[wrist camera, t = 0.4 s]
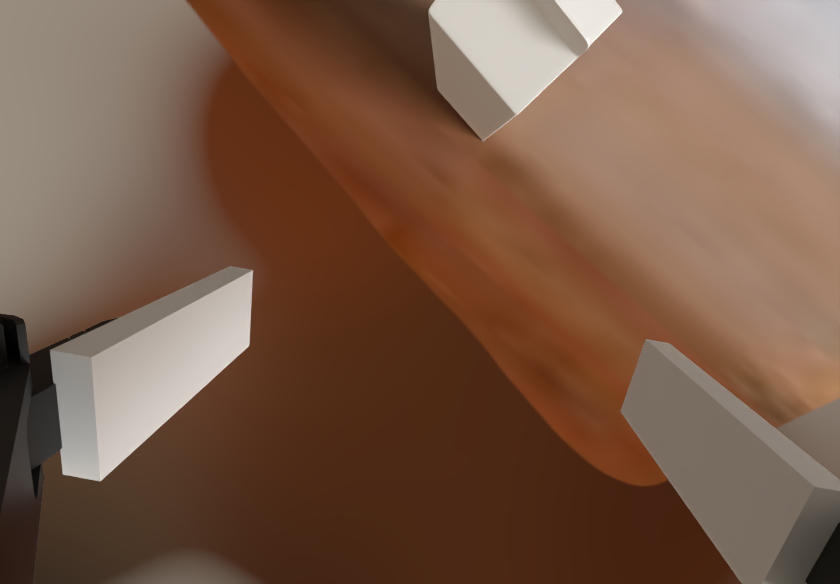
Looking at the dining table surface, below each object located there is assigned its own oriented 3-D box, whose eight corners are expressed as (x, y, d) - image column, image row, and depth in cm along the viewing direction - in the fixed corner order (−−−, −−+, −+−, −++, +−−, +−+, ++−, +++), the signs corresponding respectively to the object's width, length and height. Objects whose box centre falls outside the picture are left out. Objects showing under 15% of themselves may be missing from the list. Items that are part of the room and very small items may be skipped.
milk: (488, 34, 35) (553, -177, 14) (535, 91, 36) (664, -26, 15) (435, 90, 37) (421, -24, 15) (482, 143, 37) (530, 105, 16)
